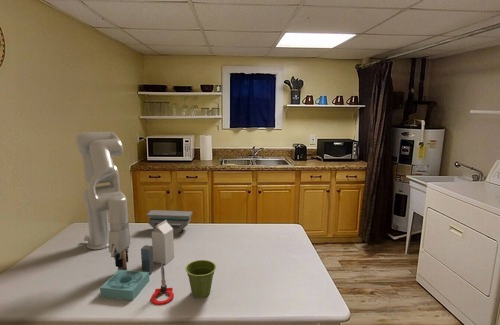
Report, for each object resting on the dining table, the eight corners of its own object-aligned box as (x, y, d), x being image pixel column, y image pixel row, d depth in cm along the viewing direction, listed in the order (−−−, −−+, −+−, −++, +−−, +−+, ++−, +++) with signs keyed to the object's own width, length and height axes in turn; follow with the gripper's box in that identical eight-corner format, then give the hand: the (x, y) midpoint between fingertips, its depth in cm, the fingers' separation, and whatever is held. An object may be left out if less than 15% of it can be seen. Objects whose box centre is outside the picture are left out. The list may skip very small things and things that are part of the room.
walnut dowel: (116, 274, 136) (114, 249, 134) (121, 270, 140) (119, 245, 138) (124, 275, 136) (122, 249, 134) (128, 270, 139) (126, 245, 137)
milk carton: (174, 257, 152) (172, 220, 148) (165, 264, 145) (164, 226, 142) (161, 255, 154) (160, 218, 151) (152, 262, 147) (150, 224, 144)
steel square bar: (142, 274, 137) (140, 248, 135) (146, 270, 140) (144, 245, 138) (150, 275, 136) (148, 249, 134) (153, 270, 140) (152, 245, 138)
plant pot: (190, 305, 116) (189, 278, 114) (183, 288, 126) (182, 263, 124) (220, 298, 120) (220, 271, 118) (211, 282, 131) (211, 257, 129)
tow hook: (172, 305, 117) (175, 289, 126) (170, 274, 114) (173, 261, 123) (149, 307, 116) (153, 291, 125) (147, 276, 113) (151, 262, 122)
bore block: (100, 296, 121) (99, 287, 120) (120, 278, 134) (119, 269, 133) (133, 300, 119) (132, 290, 118) (149, 281, 132) (148, 272, 131)
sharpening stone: (147, 232, 181) (146, 214, 179) (152, 227, 189) (151, 210, 187) (189, 234, 179) (188, 216, 177) (192, 228, 187) (192, 211, 185)
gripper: (121, 217, 142) (124, 254, 146) (99, 231, 126) (102, 273, 130) (137, 218, 141) (139, 256, 145) (116, 233, 125) (119, 275, 129)
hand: (122, 263), depth 137 cm, fingers closed on walnut dowel, 3 cm apart
